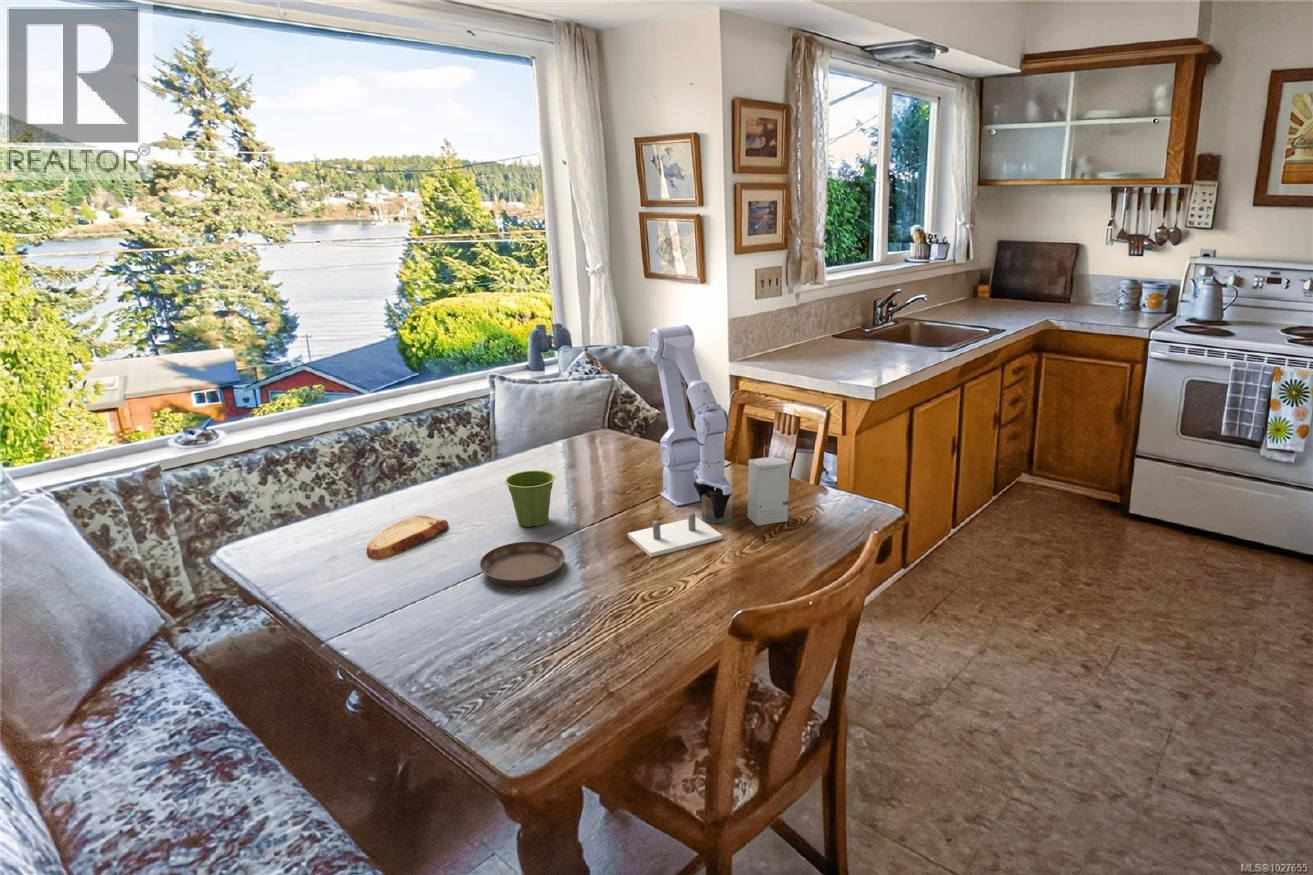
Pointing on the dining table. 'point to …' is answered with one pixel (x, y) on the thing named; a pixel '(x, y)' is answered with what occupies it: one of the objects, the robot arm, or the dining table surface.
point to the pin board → (674, 536)
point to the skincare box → (768, 490)
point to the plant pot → (531, 496)
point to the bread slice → (404, 536)
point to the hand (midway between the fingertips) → (713, 513)
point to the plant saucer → (522, 563)
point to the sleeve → (708, 510)
